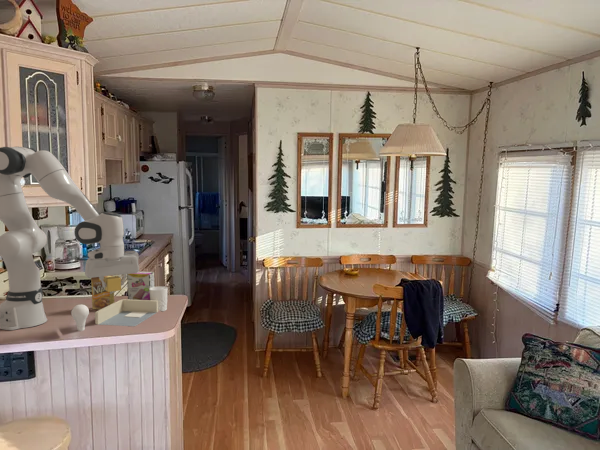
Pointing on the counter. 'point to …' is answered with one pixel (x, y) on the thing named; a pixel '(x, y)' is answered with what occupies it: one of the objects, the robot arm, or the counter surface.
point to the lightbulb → (80, 316)
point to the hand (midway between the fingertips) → (113, 286)
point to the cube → (113, 283)
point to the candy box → (100, 294)
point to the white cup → (159, 296)
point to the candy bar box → (140, 285)
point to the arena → (126, 312)
